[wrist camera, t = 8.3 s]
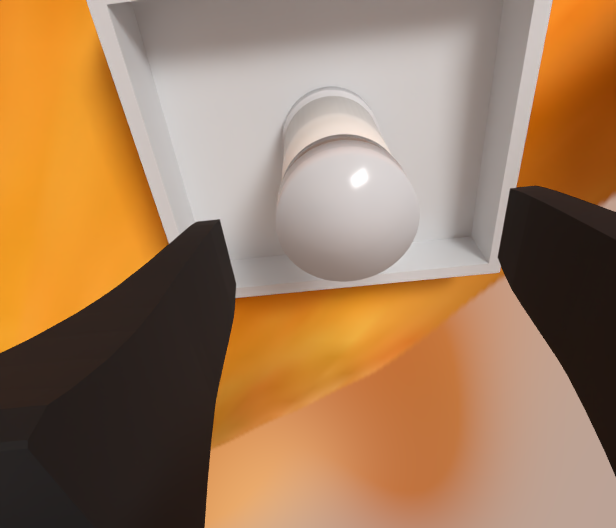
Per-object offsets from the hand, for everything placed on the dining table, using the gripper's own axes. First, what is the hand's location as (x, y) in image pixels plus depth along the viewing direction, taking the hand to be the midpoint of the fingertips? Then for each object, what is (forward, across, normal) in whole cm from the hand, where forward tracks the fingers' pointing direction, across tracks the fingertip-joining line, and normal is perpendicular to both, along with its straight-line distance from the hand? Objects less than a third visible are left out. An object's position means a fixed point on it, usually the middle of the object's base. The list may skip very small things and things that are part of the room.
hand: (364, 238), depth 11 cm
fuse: (+10, 0, 0) cm, 10 cm away
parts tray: (+10, 0, +1) cm, 10 cm away
